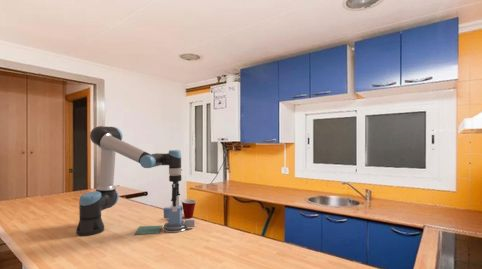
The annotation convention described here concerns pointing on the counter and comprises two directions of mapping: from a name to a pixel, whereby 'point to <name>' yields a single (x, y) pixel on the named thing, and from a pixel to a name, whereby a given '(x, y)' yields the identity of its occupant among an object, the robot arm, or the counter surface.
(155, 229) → the plate
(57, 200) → the counter surface
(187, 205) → the plastic cup
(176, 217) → the blue block
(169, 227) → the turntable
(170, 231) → the turntable base
